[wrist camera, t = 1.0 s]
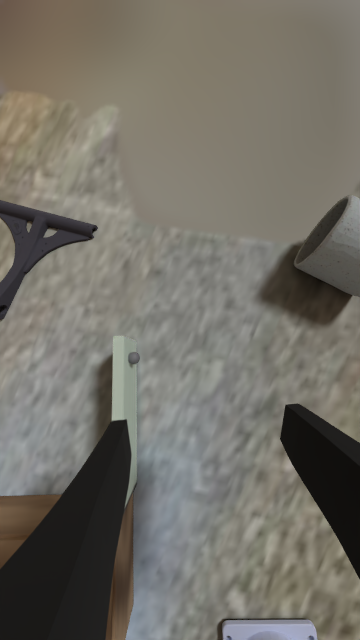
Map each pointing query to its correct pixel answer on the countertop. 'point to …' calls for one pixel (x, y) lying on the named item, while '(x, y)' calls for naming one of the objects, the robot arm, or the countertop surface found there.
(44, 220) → the bracket
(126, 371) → the door
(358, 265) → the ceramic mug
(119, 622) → the cabinet
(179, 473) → the countertop surface
